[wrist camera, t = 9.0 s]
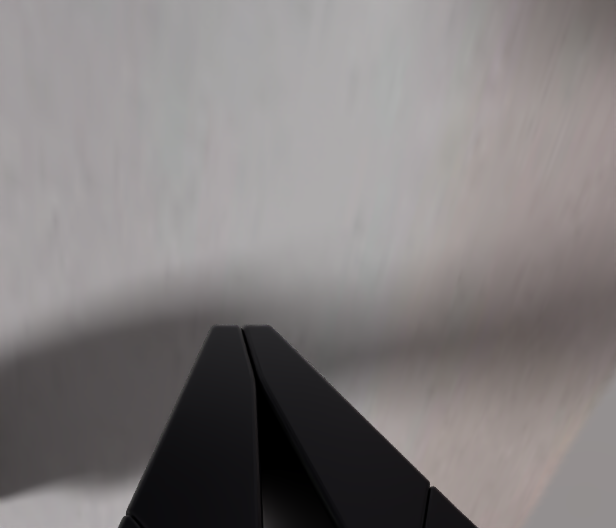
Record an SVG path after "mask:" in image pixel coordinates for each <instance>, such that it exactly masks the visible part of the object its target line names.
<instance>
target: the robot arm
mask: <svg viewBox="0 0 616 528" xmlns="http://www.w3.org/2000/svg"><path fill="white" fill-rule="evenodd" d="M118 528H478V527H477V526H475V525H474V524H473V523H472V522H471V521H470V520H469V519H468V518H467V517H466V516H465V515H464V514H463V513H462V512H461V511H459V510H458V509H457V508H456V507H455V506H454V505H453V504H452V503H451V502H450V501H449V500H448V499H447V498H446V497H445V496H444V495H443V494H442V493H441V492H440V491H439V490H438V489H437V488H436V487H434V486H432V487H430V482H429V481H428V480H427V479H426V478H425V477H424V476H423V475H422V474H421V473H420V472H419V471H418V470H417V469H416V468H415V467H414V466H413V465H412V464H411V463H410V462H409V461H408V460H407V459H406V458H405V457H404V456H403V455H402V454H401V453H400V452H399V451H398V450H397V449H396V448H395V447H394V446H393V445H392V444H391V443H390V442H389V441H388V440H387V439H386V438H385V437H384V436H383V435H382V434H380V433H379V432H378V431H377V430H376V429H375V428H374V427H373V426H372V425H371V424H370V423H369V422H368V421H367V420H366V419H365V418H364V417H363V416H362V415H361V414H360V413H359V412H358V411H357V410H356V409H355V408H354V407H353V406H352V405H351V404H350V403H349V402H348V401H347V400H346V399H345V398H344V397H343V396H342V395H341V394H340V393H339V392H338V391H337V390H336V389H335V388H334V387H333V386H332V385H331V384H329V383H328V382H327V381H326V380H325V379H324V378H323V377H322V376H321V375H320V374H319V373H318V372H317V371H316V370H315V369H314V368H313V367H312V366H311V365H310V364H309V363H308V362H307V361H306V360H305V359H304V358H303V357H302V356H301V355H300V354H299V353H298V352H297V351H296V350H295V349H294V348H293V347H292V346H291V345H290V344H289V343H288V342H287V341H286V340H285V339H284V338H283V337H282V336H281V335H280V334H279V333H277V332H276V331H275V330H274V329H273V328H272V327H271V326H269V325H244V326H243V327H242V328H241V327H239V326H238V325H214V326H212V327H211V328H210V330H209V332H208V334H207V337H206V339H205V341H204V343H203V345H202V347H201V350H200V352H199V354H198V356H197V358H196V361H195V363H194V365H193V367H192V369H191V371H190V374H189V376H188V378H187V380H186V382H185V384H184V387H183V389H182V391H181V393H180V395H179V397H178V400H177V402H176V404H175V406H174V408H173V410H172V413H171V415H170V417H169V419H168V421H167V424H166V426H165V428H164V430H163V432H162V434H161V437H160V439H159V441H158V443H157V445H156V447H155V450H154V452H153V454H152V456H151V458H150V460H149V463H148V465H147V467H146V469H145V471H144V473H143V476H142V478H141V480H140V482H139V484H138V487H137V489H136V491H135V493H134V495H133V497H132V500H131V502H130V504H129V506H128V508H127V511H126V516H124V517H123V518H122V520H121V522H120V525H119V527H118Z"/></svg>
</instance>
